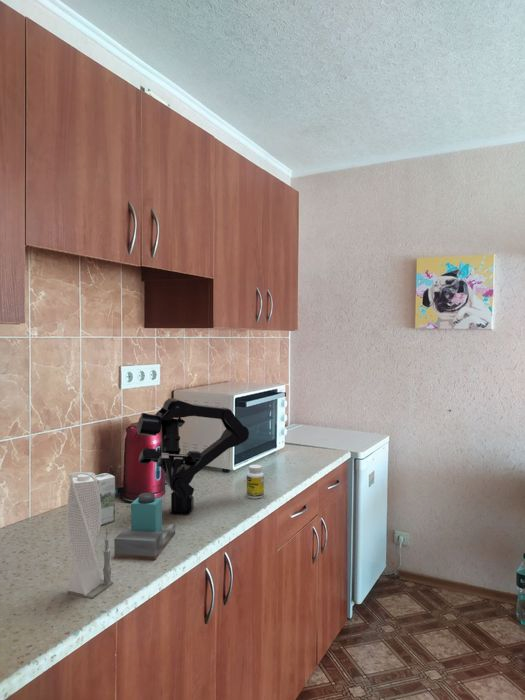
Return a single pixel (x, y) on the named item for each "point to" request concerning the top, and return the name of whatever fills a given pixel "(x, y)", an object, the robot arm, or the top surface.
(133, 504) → the teal tall block
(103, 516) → the syrup box
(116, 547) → the mount
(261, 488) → the pill bottle
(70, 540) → the skyscraper
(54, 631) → the top surface
